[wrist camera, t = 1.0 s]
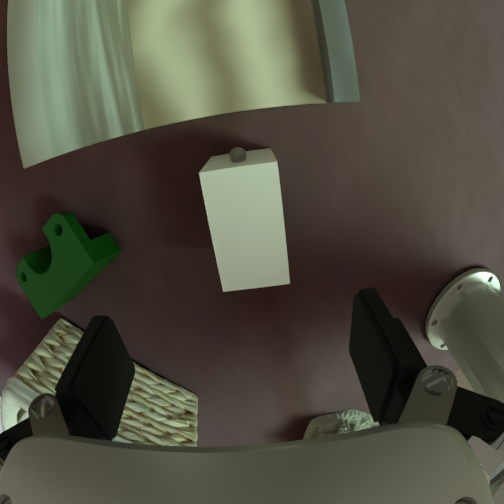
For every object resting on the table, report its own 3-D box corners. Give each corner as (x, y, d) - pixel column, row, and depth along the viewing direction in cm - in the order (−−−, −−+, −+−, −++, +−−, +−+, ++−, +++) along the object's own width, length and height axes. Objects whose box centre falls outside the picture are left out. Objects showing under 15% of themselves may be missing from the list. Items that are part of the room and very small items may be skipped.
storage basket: (213, 395, 39) (204, 491, 26) (161, 433, 45) (147, 507, 31) (57, 302, 32) (-3, 387, 19) (37, 363, 38) (-2, 431, 25)
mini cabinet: (268, 136, 25) (275, 146, 18) (281, 243, 29) (290, 283, 23) (209, 145, 25) (196, 157, 19) (228, 250, 29) (223, 291, 23)
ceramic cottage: (384, 442, 48) (400, 504, 34) (302, 454, 49) (306, 521, 35) (401, 393, 42) (429, 467, 28) (302, 408, 43) (309, 492, 29)
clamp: (102, 207, 32) (73, 194, 23) (131, 249, 32) (109, 251, 23) (32, 270, 30) (-9, 276, 21) (58, 311, 31) (22, 329, 22)
